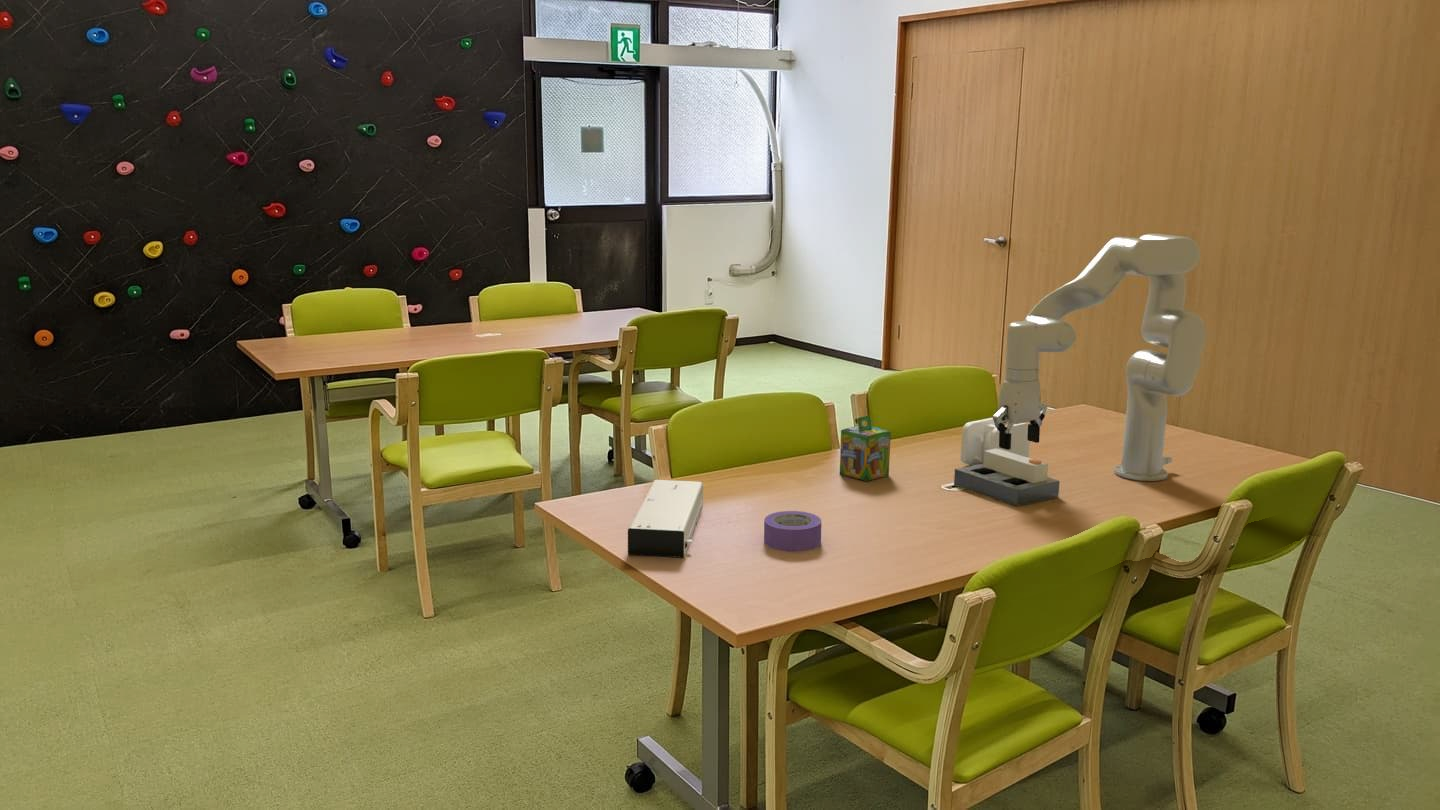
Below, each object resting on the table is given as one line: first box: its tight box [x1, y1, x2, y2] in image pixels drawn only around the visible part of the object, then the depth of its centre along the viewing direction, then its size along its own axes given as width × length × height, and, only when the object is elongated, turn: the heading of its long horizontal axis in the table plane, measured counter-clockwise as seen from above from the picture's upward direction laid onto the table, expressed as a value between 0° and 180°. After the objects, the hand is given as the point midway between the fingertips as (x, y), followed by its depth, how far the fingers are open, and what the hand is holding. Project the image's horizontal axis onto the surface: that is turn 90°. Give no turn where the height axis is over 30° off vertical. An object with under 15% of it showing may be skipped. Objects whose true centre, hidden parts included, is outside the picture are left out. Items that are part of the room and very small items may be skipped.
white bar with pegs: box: [982, 448, 1049, 483], centre depth 274 cm, size 4×16×8 cm, turn 34°
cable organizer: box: [960, 417, 1031, 466], centre depth 293 cm, size 15×11×12 cm
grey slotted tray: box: [953, 463, 1061, 508], centre depth 273 cm, size 14×20×4 cm
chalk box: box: [839, 414, 892, 482], centre depth 284 cm, size 9×9×15 cm
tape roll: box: [763, 510, 822, 553], centre depth 236 cm, size 12×12×5 cm
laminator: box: [627, 479, 704, 559], centre depth 242 cm, size 34×12×6 cm, turn 174°
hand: (1019, 444), depth 273 cm, fingers open, 9 cm apart
